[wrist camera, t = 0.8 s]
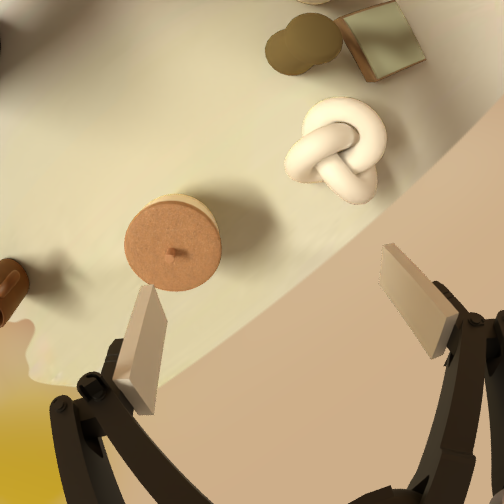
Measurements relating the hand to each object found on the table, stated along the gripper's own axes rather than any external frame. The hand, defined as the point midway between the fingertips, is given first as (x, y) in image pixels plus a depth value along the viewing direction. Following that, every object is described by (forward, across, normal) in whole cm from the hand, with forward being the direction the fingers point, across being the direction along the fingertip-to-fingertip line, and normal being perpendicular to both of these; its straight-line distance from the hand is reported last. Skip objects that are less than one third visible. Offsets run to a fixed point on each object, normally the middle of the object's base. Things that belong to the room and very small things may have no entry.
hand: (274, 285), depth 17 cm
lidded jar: (+23, -9, -4) cm, 25 cm away
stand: (+23, +19, +17) cm, 34 cm away
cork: (+23, +8, +15) cm, 28 cm away
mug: (+23, -39, -6) cm, 45 cm away
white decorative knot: (+23, +11, +4) cm, 26 cm away
